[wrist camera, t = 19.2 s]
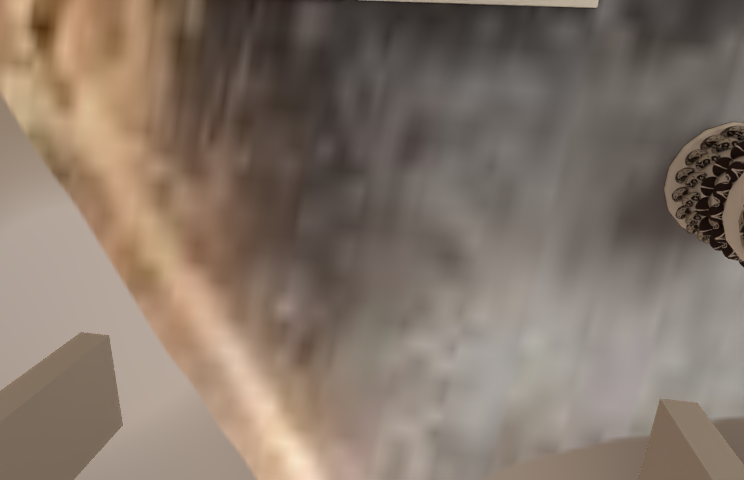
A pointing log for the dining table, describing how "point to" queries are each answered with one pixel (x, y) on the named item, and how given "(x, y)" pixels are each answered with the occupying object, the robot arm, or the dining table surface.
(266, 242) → the dining table surface
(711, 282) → the dining table surface
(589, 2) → the mat
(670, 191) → the decorative candle
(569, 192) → the dining table surface
